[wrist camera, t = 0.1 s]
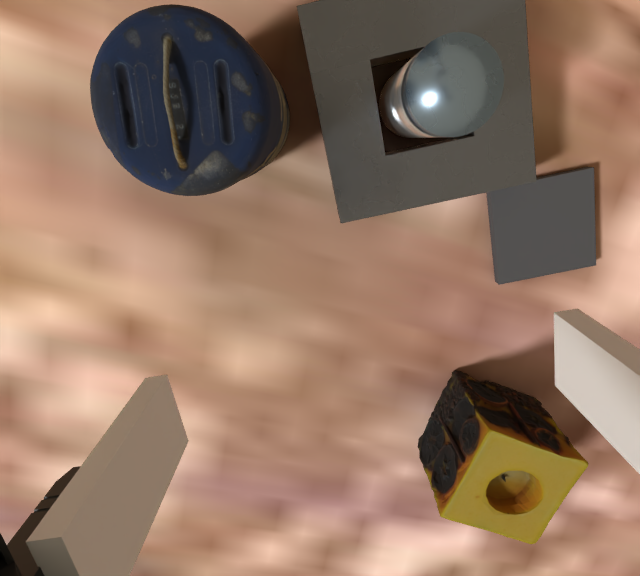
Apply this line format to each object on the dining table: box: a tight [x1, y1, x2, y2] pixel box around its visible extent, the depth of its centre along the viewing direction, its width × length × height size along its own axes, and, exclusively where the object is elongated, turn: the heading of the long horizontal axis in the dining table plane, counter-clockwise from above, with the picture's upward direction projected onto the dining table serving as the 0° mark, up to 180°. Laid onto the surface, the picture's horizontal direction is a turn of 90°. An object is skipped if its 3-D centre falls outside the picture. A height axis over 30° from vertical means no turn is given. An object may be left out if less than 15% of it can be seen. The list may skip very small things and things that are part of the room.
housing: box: [297, 0, 536, 223], centre depth 36 cm, size 16×16×4 cm
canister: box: [90, 5, 290, 196], centre depth 30 cm, size 10×10×18 cm
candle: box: [418, 370, 588, 544], centre depth 44 cm, size 10×10×10 cm
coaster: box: [487, 167, 596, 284], centre depth 41 cm, size 9×9×1 cm
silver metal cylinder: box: [379, 32, 504, 138], centre depth 32 cm, size 6×6×13 cm
